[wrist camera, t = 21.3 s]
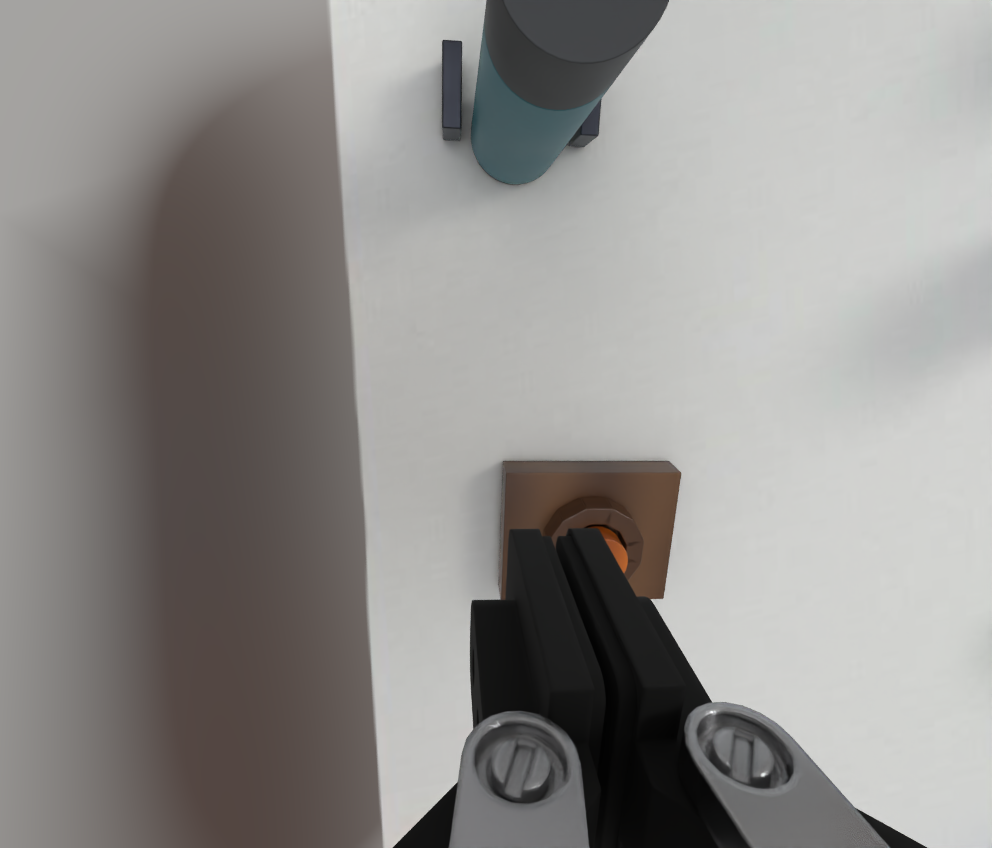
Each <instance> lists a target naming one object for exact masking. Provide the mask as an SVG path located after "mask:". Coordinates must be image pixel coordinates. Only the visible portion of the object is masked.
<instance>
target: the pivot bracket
mask: <svg viewBox="0 0 992 848" xmlns="http://www.w3.org/2000/svg"><path fill="white" fill-rule="evenodd" d="M461 101H462V42H461V41H452V40H443V41H442V131H443V139H444V140H457V141H459V140H460V136H461ZM600 108H601V99H600V101H599V102H598V103H597V105H596V106H595V107H594V109H593V110H592V111H591V113H590V114H589V115H588V117H587V118H586V119H585V121H584V122H583V123H582V125H581V126H580V127H579V129H578V130H577V131H576V133H575V134H574V135H573V137H572V138H571V139H570V141H569V146H577V147H585V146H586V145H587V144H588V143H590V142H591V141H592V140H593V139H595V138H596V137H597V136H598V134H599V121H600Z"/></svg>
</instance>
